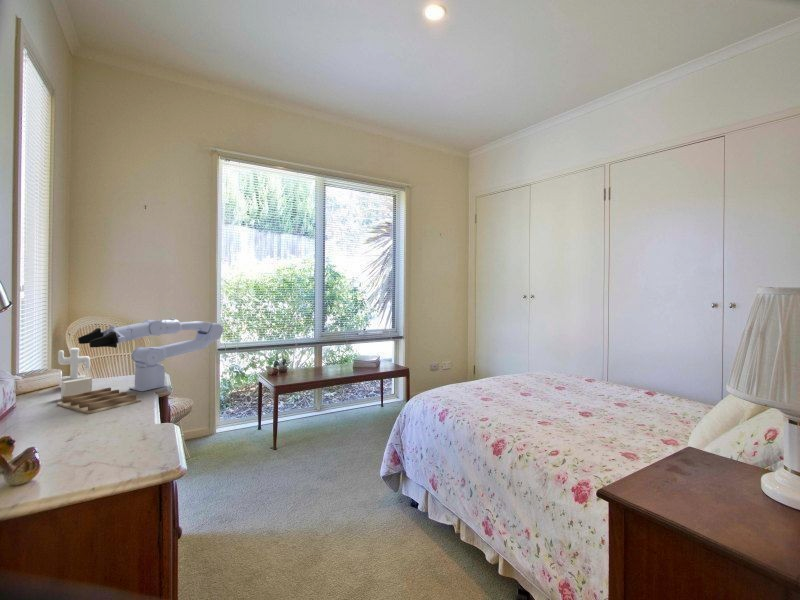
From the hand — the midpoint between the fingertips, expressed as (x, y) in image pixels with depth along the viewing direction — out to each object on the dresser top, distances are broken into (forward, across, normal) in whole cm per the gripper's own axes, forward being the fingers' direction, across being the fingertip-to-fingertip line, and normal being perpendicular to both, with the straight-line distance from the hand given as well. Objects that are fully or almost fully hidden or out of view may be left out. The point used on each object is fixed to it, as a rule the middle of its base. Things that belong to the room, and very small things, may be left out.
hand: (84, 342), depth 132 cm
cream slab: (+2, -6, +20) cm, 21 cm away
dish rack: (+2, +9, +19) cm, 21 cm away
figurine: (-3, -21, +22) cm, 31 cm away
